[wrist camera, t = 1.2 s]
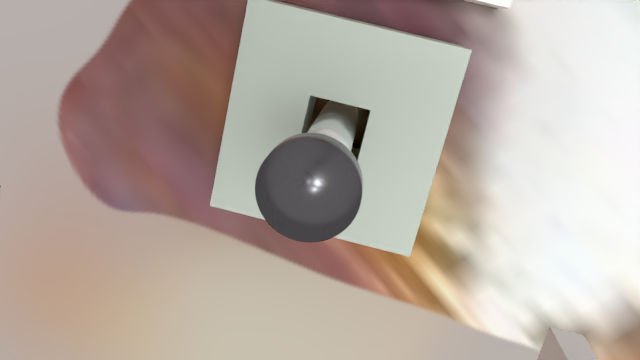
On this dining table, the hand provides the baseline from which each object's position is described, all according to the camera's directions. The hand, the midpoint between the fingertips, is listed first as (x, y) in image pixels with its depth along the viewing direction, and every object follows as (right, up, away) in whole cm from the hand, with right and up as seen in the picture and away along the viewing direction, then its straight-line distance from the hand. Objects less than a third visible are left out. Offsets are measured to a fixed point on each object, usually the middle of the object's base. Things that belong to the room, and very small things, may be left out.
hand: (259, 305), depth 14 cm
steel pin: (+3, +7, +24) cm, 25 cm away
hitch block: (+3, +7, +24) cm, 25 cm away
